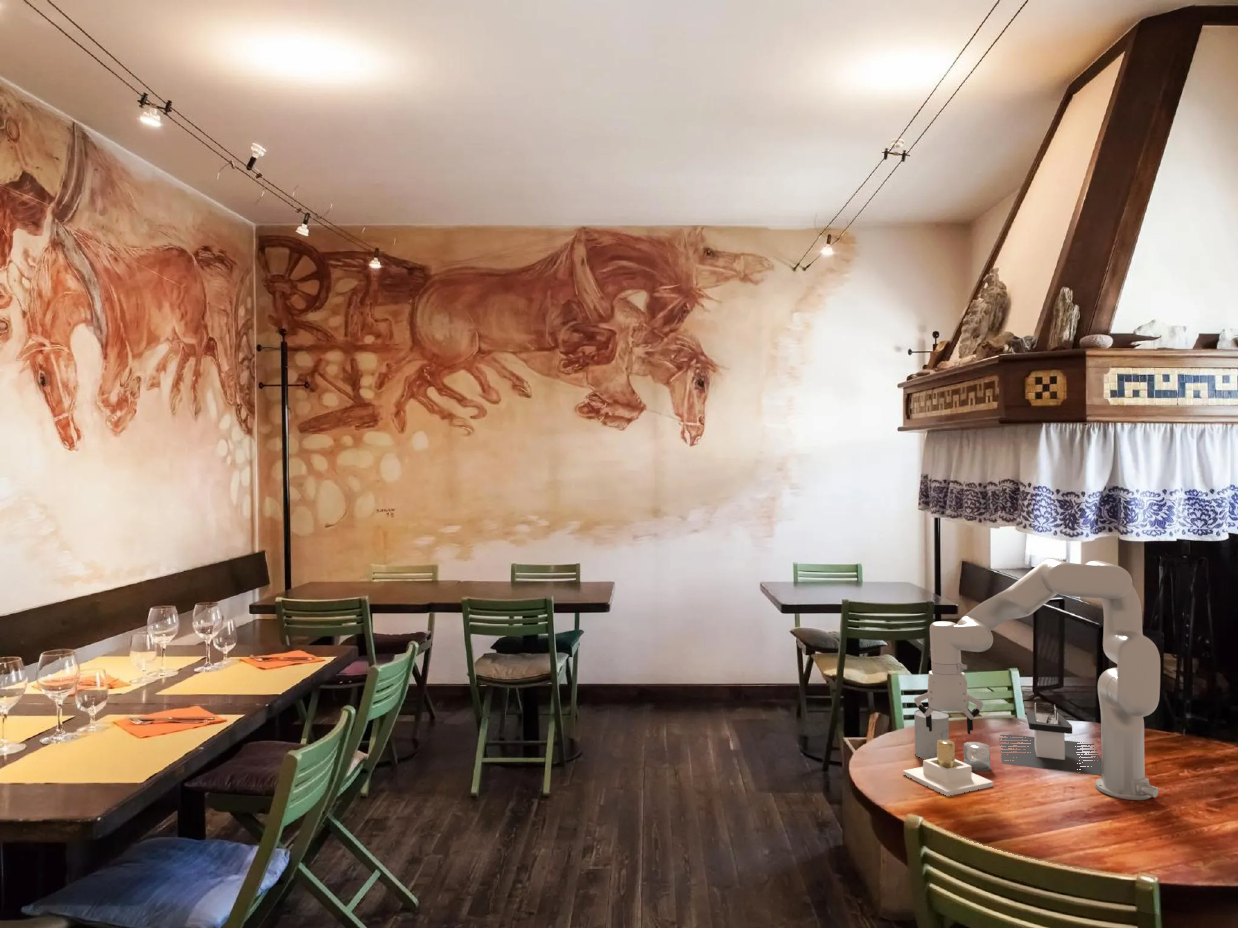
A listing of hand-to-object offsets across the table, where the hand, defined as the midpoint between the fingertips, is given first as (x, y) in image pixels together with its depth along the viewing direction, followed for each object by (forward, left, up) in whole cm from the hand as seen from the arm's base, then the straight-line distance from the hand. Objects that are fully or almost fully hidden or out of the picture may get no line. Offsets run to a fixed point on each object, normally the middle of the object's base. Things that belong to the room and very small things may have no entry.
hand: (949, 731), depth 218 cm
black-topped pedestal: (+4, -42, -14) cm, 44 cm away
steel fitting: (+4, -14, -13) cm, 20 cm away
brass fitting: (+1, +1, -12) cm, 12 cm away
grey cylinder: (+16, -9, -14) cm, 23 cm away
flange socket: (0, +1, -13) cm, 13 cm away
